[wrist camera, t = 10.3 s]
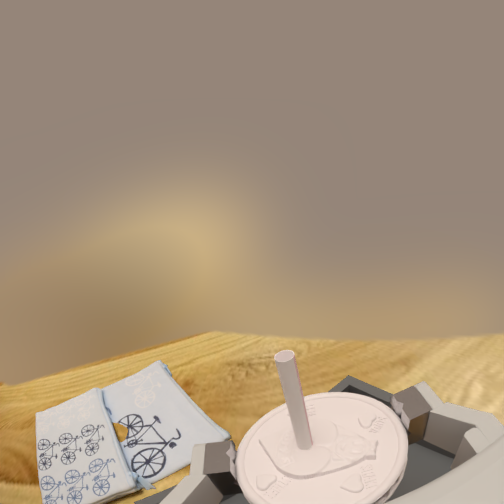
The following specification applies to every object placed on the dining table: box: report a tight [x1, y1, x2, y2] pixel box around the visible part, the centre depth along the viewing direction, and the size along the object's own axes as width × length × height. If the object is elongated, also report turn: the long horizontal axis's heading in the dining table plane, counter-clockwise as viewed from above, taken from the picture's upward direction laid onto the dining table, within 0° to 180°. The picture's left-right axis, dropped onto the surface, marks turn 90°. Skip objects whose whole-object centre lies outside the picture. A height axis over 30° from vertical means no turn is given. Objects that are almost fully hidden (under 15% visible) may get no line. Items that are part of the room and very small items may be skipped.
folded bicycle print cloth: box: [36, 360, 231, 504], centre depth 23 cm, size 19×20×2 cm
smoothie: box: [235, 350, 408, 504], centre depth 9 cm, size 6×6×14 cm
